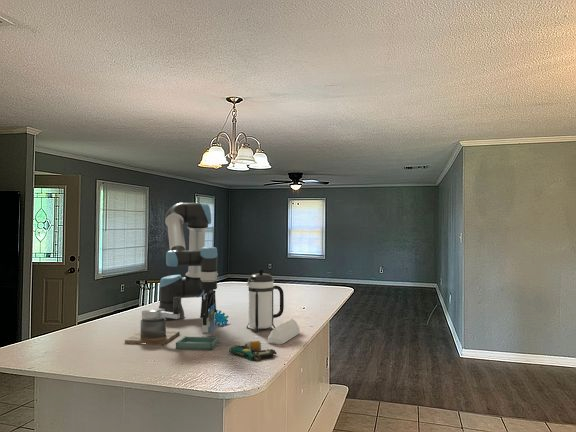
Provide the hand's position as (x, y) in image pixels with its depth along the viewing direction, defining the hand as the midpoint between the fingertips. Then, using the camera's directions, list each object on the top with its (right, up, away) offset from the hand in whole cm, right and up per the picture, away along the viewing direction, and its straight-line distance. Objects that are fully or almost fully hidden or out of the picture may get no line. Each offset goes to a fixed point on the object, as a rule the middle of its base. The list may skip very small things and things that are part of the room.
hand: (208, 329), depth 200 cm
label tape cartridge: (0, -1, 0) cm, 1 cm away
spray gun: (+23, -3, -28) cm, 36 cm away
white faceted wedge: (+35, -4, -3) cm, 35 cm away
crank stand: (-24, -3, -4) cm, 25 cm away
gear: (+2, -4, +25) cm, 25 cm away
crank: (-20, +5, -6) cm, 21 cm away
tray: (-2, -3, -15) cm, 16 cm away
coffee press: (+24, -4, +16) cm, 29 cm away
